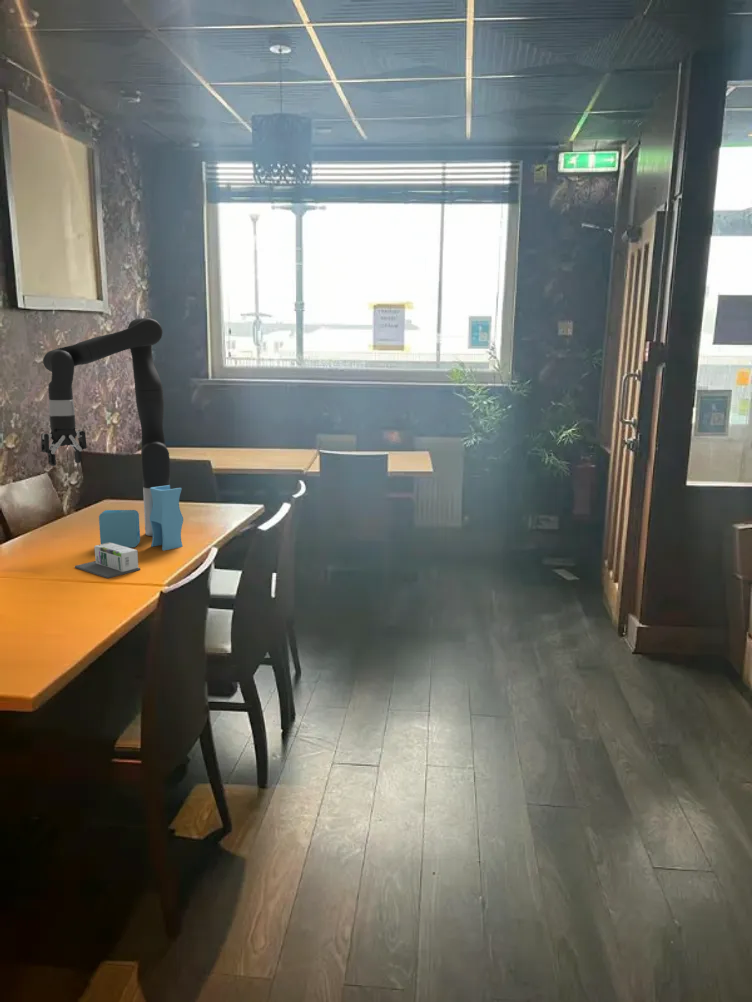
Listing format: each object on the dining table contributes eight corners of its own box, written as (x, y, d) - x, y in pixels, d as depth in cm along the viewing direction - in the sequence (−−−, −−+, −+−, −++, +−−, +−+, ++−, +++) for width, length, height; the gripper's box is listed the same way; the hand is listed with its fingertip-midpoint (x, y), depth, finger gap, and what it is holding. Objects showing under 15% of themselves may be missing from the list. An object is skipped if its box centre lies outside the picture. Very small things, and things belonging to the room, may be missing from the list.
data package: (140, 544, 250) (138, 509, 248) (137, 547, 245) (135, 512, 243) (104, 544, 249) (101, 510, 246) (100, 548, 244) (98, 512, 242)
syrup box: (122, 572, 215) (94, 563, 224) (139, 568, 220) (111, 559, 228) (121, 553, 214) (92, 545, 223) (138, 549, 219) (110, 541, 227)
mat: (74, 567, 222) (74, 565, 221) (107, 560, 230) (107, 558, 230) (107, 578, 211) (107, 576, 211) (140, 569, 220) (140, 567, 220)
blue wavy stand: (184, 546, 248) (182, 488, 244) (163, 550, 242) (160, 490, 238) (171, 542, 253) (169, 484, 249) (150, 546, 247) (148, 487, 243)
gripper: (76, 412, 243) (79, 460, 246) (34, 414, 232) (38, 465, 235) (89, 413, 238) (92, 462, 241) (47, 415, 227) (51, 467, 230)
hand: (65, 464), depth 238 cm, fingers open, 8 cm apart
